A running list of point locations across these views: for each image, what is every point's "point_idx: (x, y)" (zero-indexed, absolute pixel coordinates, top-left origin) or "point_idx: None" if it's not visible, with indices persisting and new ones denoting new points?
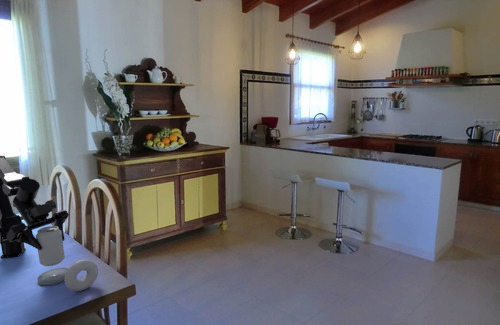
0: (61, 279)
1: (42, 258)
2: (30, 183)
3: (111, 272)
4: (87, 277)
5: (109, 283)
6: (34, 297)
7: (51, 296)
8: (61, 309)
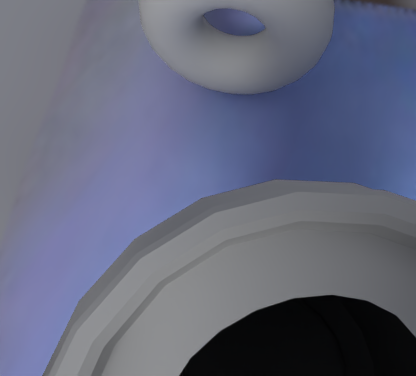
0: None
1: (386, 339)
2: None
3: (56, 114)
4: (210, 28)
5: (135, 38)
6: None
7: (365, 144)
8: (374, 17)
